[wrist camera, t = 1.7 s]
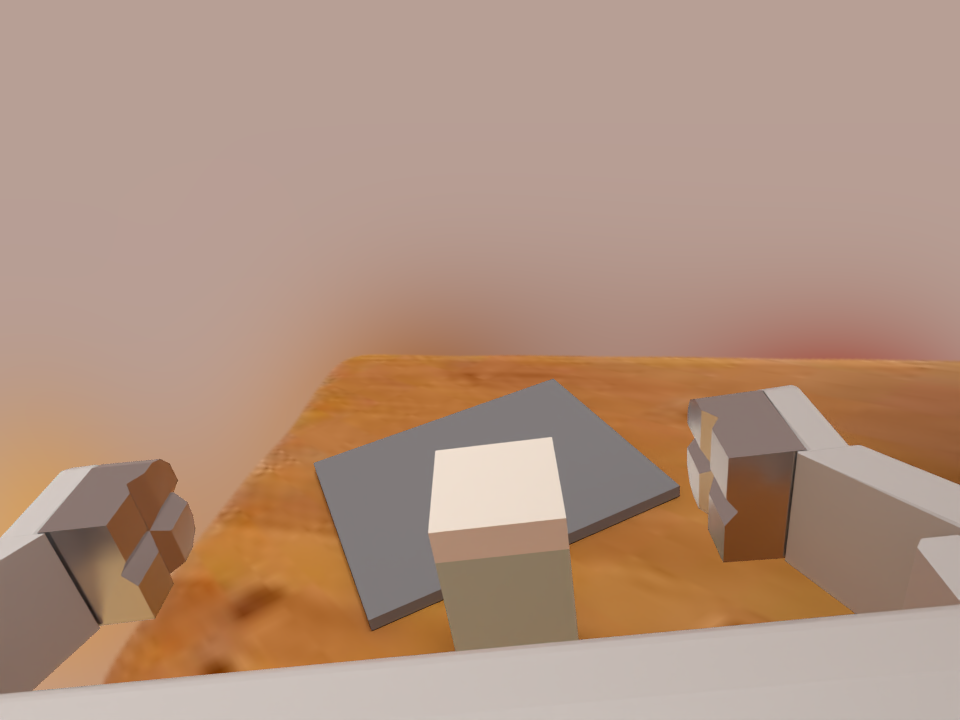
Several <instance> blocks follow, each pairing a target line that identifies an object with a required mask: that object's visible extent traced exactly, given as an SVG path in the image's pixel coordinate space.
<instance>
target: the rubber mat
mask: <svg viewBox="0 0 960 720" xmlns="http://www.w3.org/2000/svg"><path fill="white" fill-rule="evenodd" d="M547 437H552V440H553V446H554V451H555V457H556V463H557V468H558V474H559V480H560V485H561V491H562V496H563V502H564V508H565V513H566V520H567V530H568V540H569V544H571V543H573V542H575V541H578V540H580V539H582V538H585V537H587V536H589V535H591V534H594V533H596V532H598V531H601V530H603V529H605V528H607V527H610V526H612V525H614V524H617V523H619V522H621V521H623V520H626V519H628V518H630V517H633V516H635V515H637V514H639V513H642V512H644V511H646V510H648V509H651V508H653V507H655V506H658V505H660V504H662V503H664V502H667V501H669V500H671V499H674V498H676V497H678V496H680V486H679V485H678V484H677V483H676V482H675V481H673V480H672V479H671V478H670V477H669V476H667V475H666V474H665V473H664V472H663V471H662V470H660V469H659V468H658V467H657V466H656V465H655V464H653V463H652V462H651V461H650V460H649V459H647V458H646V457H645V456H644V455H643V454H642V453H640V452H639V451H638V450H637V449H636V448H634V447H633V446H632V445H631V444H630V443H629V442H627V441H626V440H625V439H624V438H623V437H622V436H620V435H619V434H618V433H617V432H616V431H614V430H613V429H612V428H611V427H610V426H609V425H607V424H606V423H605V422H604V421H603V420H602V419H600V418H599V417H598V416H597V415H596V414H594V413H593V412H592V411H591V410H590V409H589V408H587V407H586V406H585V405H584V404H583V403H581V402H580V401H579V400H578V399H577V398H576V397H574V396H573V395H572V394H571V393H570V392H569V391H567V390H566V389H565V388H564V387H563V386H561V385H560V384H559V383H558V382H557V381H556V380H554V379H551V380H548V381H545V382H543V383H540V384H537V385H534V386H531V387H528V388H526V389H523V390H520V391H517V392H514V393H511V394H509V395H506V396H503V397H500V398H497V399H494V400H491V401H489V402H486V403H483V404H480V405H477V406H474V407H472V408H469V409H466V410H463V411H460V412H457V413H455V414H452V415H449V416H446V417H443V418H440V419H438V420H435V421H432V422H429V423H426V424H423V425H420V426H418V427H415V428H412V429H409V430H406V431H403V432H401V433H398V434H395V435H392V436H389V437H386V438H384V439H381V440H378V441H375V442H372V443H369V444H366V445H364V446H361V447H358V448H355V449H352V450H349V451H347V452H344V453H341V454H338V455H335V456H332V457H330V458H327V459H324V460H321V461H318V462H315V463H314V466H315V469H316V472H317V475H318V478H319V481H320V484H321V487H322V490H323V492H324V495H325V498H326V501H327V504H328V507H329V510H330V512H331V515H332V518H333V521H334V524H335V527H336V530H337V533H338V535H339V538H340V541H341V544H342V547H343V550H344V553H345V555H346V558H347V561H348V564H349V567H350V570H351V573H352V575H353V578H354V581H355V584H356V587H357V590H358V593H359V596H360V598H361V601H362V604H363V607H364V610H365V613H366V616H367V618H368V621H369V624H370V627H371V630H375V629H377V628H379V627H381V626H384V625H386V624H388V623H391V622H393V621H395V620H397V619H400V618H402V617H404V616H407V615H409V614H411V613H413V612H416V611H418V610H420V609H423V608H425V607H427V606H429V605H432V604H434V603H436V602H439V601H441V600H443V595H442V591H441V587H440V582H439V578H438V574H437V569H436V565H435V561H434V557H433V552H432V548H431V544H430V540H429V535H428V528H429V517H430V506H431V494H432V483H433V472H434V461H435V451H437V450H445V449H454V448H462V447H471V446H479V445H488V444H496V443H505V442H513V441H522V440H530V439H539V438H547Z"/></svg>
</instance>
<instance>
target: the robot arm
mask: <svg viewBox="0 0 960 720" xmlns="http://www.w3.org/2000/svg"><path fill="white" fill-rule="evenodd" d="M688 425H689V427H690V429H691V431H692V433H693V435H694V437H695V438H694V440H693V441H692V442H691V444H690V445H689V446H688V447H687V466H688V473H689V480H690V485H691V489H692V492H693V495H694V498H695V500H696V503H697V505H698V508H699V509H701V510H703V511H704V512H706V513H708V530H709V532H710V535H711V537H712V539H713V541H714V543H715V545H716V548H717V550H718V552H719V554H720V556H721V559H722V561H723V562H737V561H751V560H765V559H778V558H785V561H786V562H787V563H789V564H790V565H791V566H793V567H794V568H795V569H797V570H798V571H799V572H801V573H802V574H803V575H805V576H806V577H808V578H809V579H810V580H812V581H813V582H814V583H816V584H817V585H818V586H820V587H821V588H822V589H824V590H825V591H826V592H828V593H829V594H830V595H832V596H833V597H834V598H836V599H837V600H838V601H840V602H841V603H842V604H844V605H845V606H846V607H848V608H849V609H850V610H852V611H853V612H854V613H856V614H851V615H840V616H829V617H818V618H808V619H797V620H787V621H777V622H767V623H757V624H746V625H735V626H725V627H714V628H703V629H692V630H681V631H670V632H660V633H649V634H638V635H627V636H616V637H606V638H595V639H584V640H573V641H562V642H551V643H541V644H530V645H519V646H508V647H497V648H486V649H476V650H465V651H454V652H443V653H433V654H422V655H412V656H401V657H391V658H380V659H370V660H359V661H349V662H338V663H328V664H317V665H307V666H296V667H285V668H275V669H264V670H253V671H242V672H232V673H221V674H210V675H199V676H188V677H178V678H167V679H156V680H145V681H135V682H124V683H113V684H102V685H92V686H81V687H70V688H59V689H48V690H38V691H32V690H33V689H35V688H36V687H37V686H38V685H39V684H40V683H41V682H42V681H43V680H44V679H45V678H47V677H48V676H49V675H50V674H51V673H52V672H53V671H54V670H55V669H56V668H57V667H59V666H60V665H61V664H62V663H63V662H64V661H65V660H66V659H67V658H68V657H69V656H71V655H72V654H73V653H74V652H75V651H76V650H77V649H78V648H79V647H80V646H82V645H83V644H84V643H85V642H86V641H87V640H88V639H89V638H90V637H91V636H92V635H94V634H95V633H96V632H97V631H98V630H99V629H100V627H99V626H101V625H109V624H118V623H125V622H133V621H141V620H149V619H155V618H156V616H157V614H158V612H159V611H160V609H161V607H162V605H163V603H164V601H165V599H166V598H167V596H168V594H169V592H170V590H171V588H172V586H173V584H174V583H173V580H172V578H171V575H170V573H172V572H173V571H174V570H175V569H177V568H178V567H179V566H181V565H182V564H183V563H184V562H186V560H187V558H188V556H189V554H190V552H191V550H192V548H193V542H194V535H195V525H194V519H193V514H192V512H191V509H190V507H189V504H188V503H187V502H186V501H185V500H183V499H182V498H181V497H179V496H178V495H176V494H175V493H174V490H175V487H176V484H177V482H178V479H177V478H176V475H175V473H174V472H173V470H172V467H171V465H170V464H169V463H167V462H165V461H163V460H161V459H156V460H146V461H135V462H125V463H115V464H114V463H113V464H103V465H92V466H84V467H76V468H71V469H67V470H64V471H61V472H60V473H59V474H58V476H57V477H56V478H55V479H54V480H53V481H52V482H51V483H50V485H48V486H47V488H46V489H45V490H44V491H43V492H42V493H41V494H40V495H39V496H38V497H37V499H36V500H35V501H34V502H33V503H32V504H31V505H30V506H29V507H28V508H27V509H26V510H25V512H24V513H23V514H22V515H21V516H20V517H19V518H18V519H17V520H16V521H15V522H14V524H13V525H12V526H11V527H10V528H9V529H8V530H7V531H6V532H5V533H4V534H3V536H2V537H1V538H0V720H960V485H958V484H956V483H953V482H951V481H949V480H946V479H944V478H941V477H939V476H936V475H934V474H931V473H929V472H926V471H924V470H921V469H919V468H916V467H914V466H911V465H909V464H906V463H904V462H901V461H899V460H896V459H894V458H891V457H889V456H886V455H884V454H881V453H879V452H876V451H874V450H871V449H869V448H866V447H864V446H861V445H855V446H849V445H848V444H847V443H846V442H845V441H844V439H843V438H842V437H841V436H840V435H839V434H838V433H837V431H836V430H835V429H834V428H833V427H832V426H831V425H830V423H829V422H828V421H827V420H826V419H825V418H824V416H823V415H822V414H821V413H820V412H819V411H818V410H817V408H816V407H815V406H814V405H813V404H812V403H811V402H810V400H809V399H808V398H807V397H806V396H805V395H804V393H803V392H802V391H801V390H800V389H799V388H798V387H796V386H793V385H789V386H782V387H776V388H769V389H762V390H758V391H750V392H743V393H736V394H728V395H721V396H714V397H706V398H699V399H692V400H690V402H689V407H688Z"/></svg>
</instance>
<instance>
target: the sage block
mask: <svg viewBox="0 0 960 720" xmlns="http://www.w3.org/2000/svg"><path fill="white" fill-rule="evenodd" d="M428 535H429V540H430V544H431V548H432V552H433V557H434V561H435V565H436V569H437V574H438V578H439V582H440V587H441V591H442V595H443V599H444V604H445V608H446V612H447V616H448V621H449V625H450V629H451V634H452V638H453V642H454V646H455V651H465V650H476V649H486V648H497V647H508V646H519V645H530V644H541V643H551V642H562V641H573V640H578V630H577V620H576V610H575V600H574V590H573V580H572V570H571V560H570V550H569V540H568V530H567V520H566V513H565V508H564V502H563V496H562V491H561V485H560V480H559V474H558V468H557V463H556V457H555V451H554V446H553V440H552V437H547V438H539V439H530V440H522V441H513V442H505V443H496V444H488V445H479V446H471V447H462V448H454V449H445V450H437V451H435V461H434V472H433V483H432V494H431V506H430V517H429V528H428Z"/></svg>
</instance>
